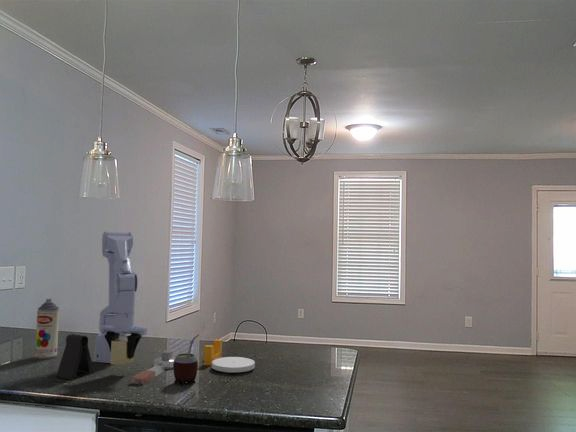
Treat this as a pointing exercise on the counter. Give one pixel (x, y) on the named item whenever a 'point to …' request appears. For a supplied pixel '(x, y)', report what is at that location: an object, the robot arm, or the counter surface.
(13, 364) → the counter surface
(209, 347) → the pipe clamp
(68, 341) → the phone stand
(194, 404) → the counter surface
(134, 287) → the robot arm
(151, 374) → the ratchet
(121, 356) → the tan rectangular block
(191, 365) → the mate gourd
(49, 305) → the aerosol can
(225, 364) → the plastic lid
